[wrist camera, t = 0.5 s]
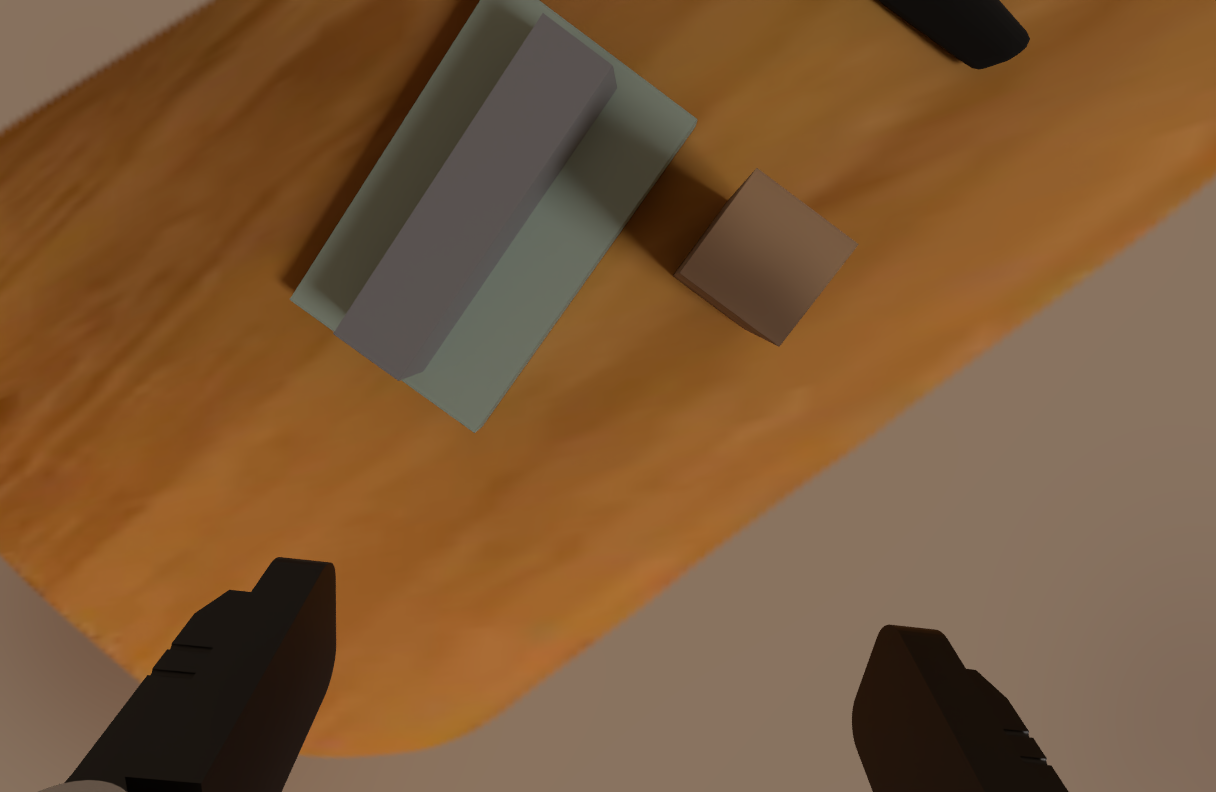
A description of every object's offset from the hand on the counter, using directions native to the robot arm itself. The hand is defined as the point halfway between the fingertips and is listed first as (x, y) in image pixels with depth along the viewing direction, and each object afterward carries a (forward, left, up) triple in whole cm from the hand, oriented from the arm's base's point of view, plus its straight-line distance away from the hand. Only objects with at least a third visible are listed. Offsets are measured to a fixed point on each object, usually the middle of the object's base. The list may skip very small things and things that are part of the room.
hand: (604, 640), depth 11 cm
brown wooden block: (-8, 0, -26) cm, 27 cm away
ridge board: (-3, -11, -26) cm, 29 cm away
